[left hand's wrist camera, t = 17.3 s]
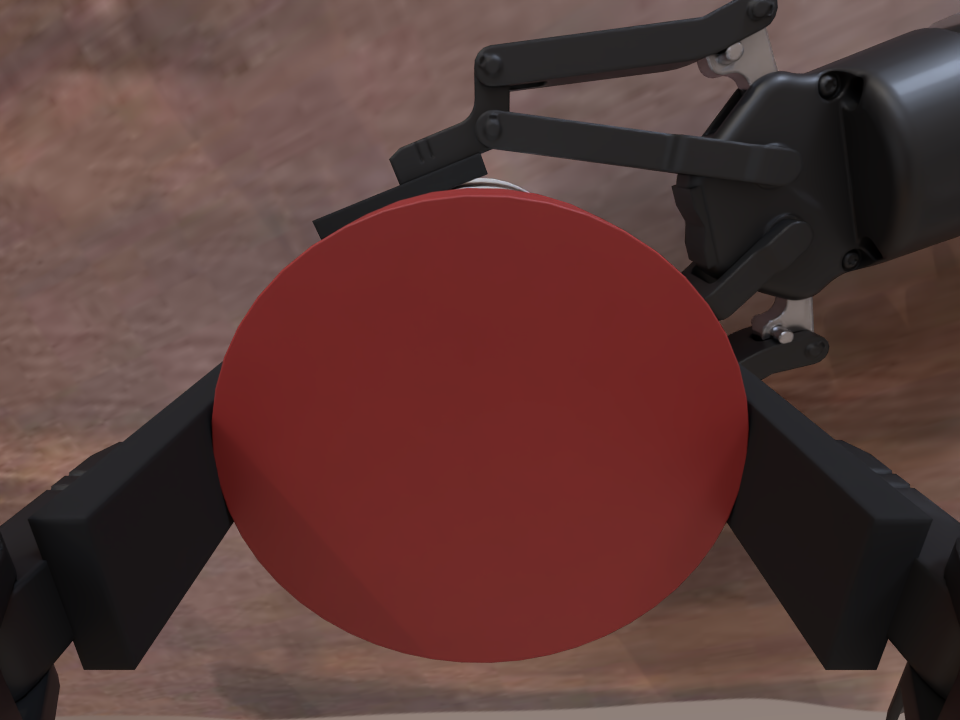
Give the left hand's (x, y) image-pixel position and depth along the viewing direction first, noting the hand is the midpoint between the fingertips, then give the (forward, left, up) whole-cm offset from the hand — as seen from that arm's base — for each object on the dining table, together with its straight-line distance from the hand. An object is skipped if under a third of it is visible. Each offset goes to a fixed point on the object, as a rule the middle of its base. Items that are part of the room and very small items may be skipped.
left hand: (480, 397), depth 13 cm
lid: (0, 0, +3) cm, 3 cm away
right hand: (-4, -1, -9) cm, 10 cm away
